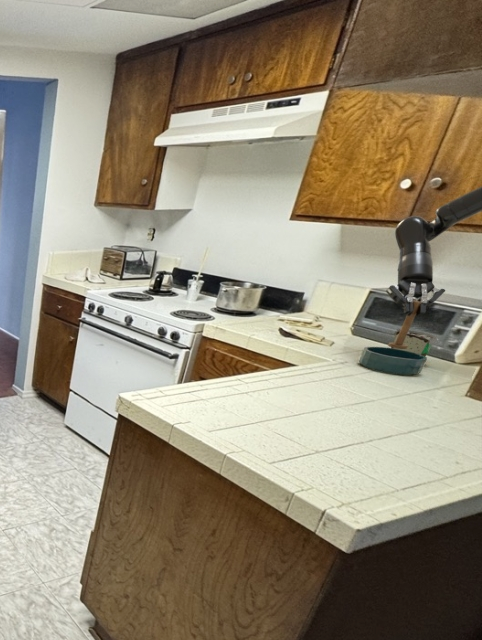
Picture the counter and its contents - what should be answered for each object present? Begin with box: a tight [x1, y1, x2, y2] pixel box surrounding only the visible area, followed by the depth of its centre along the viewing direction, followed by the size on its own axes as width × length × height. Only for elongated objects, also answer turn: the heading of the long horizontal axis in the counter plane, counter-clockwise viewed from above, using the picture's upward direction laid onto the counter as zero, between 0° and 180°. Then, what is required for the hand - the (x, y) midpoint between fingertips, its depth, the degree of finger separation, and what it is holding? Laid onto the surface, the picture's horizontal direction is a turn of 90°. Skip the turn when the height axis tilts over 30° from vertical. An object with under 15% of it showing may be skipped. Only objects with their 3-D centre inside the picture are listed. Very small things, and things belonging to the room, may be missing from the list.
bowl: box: [358, 346, 428, 376], centre depth 153 cm, size 15×15×6 cm
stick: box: [387, 300, 421, 349], centre depth 149 cm, size 4×4×15 cm
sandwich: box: [390, 328, 438, 357], centre depth 160 cm, size 12×6×10 cm, turn 179°
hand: (414, 314), depth 146 cm, fingers closed on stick, 2 cm apart
